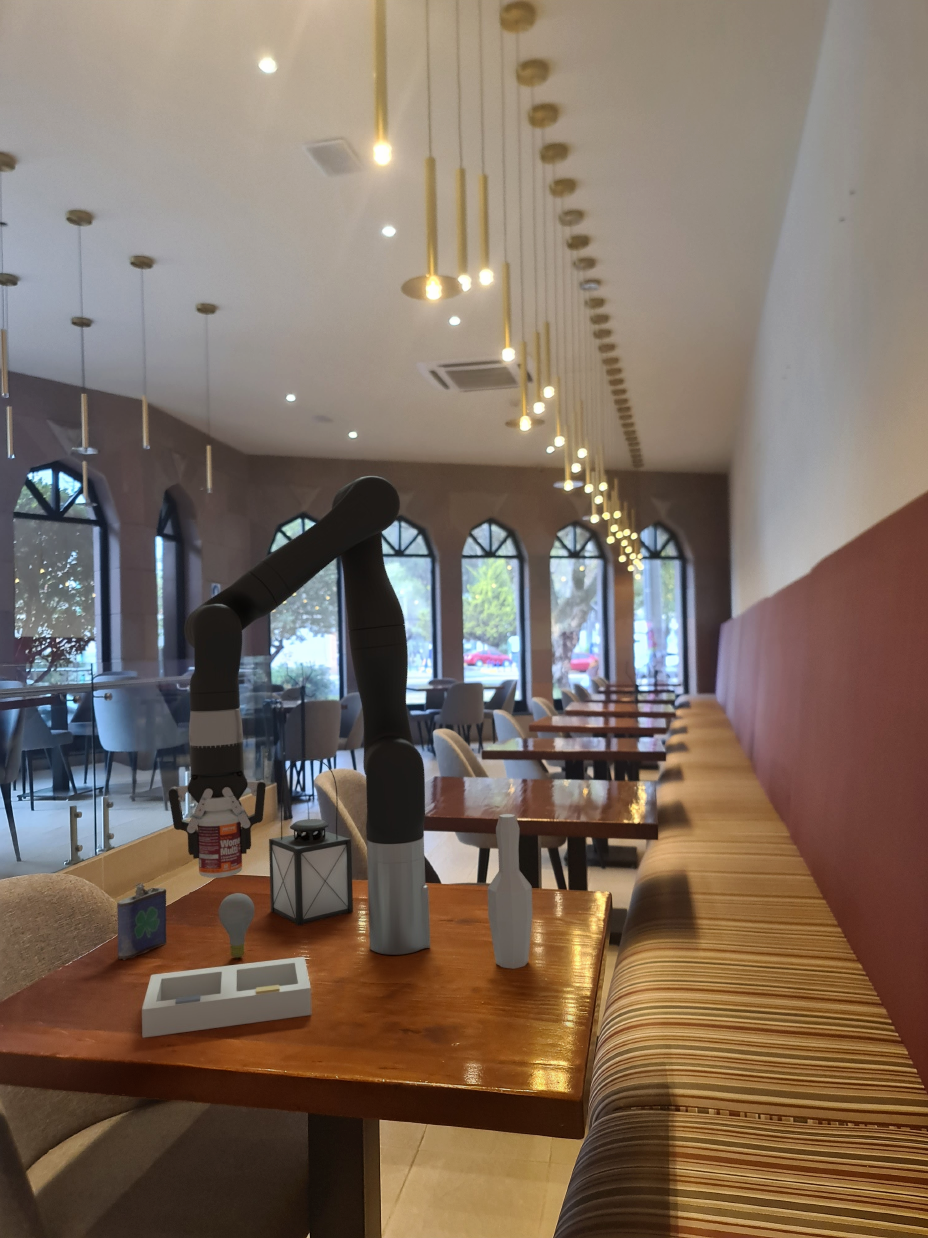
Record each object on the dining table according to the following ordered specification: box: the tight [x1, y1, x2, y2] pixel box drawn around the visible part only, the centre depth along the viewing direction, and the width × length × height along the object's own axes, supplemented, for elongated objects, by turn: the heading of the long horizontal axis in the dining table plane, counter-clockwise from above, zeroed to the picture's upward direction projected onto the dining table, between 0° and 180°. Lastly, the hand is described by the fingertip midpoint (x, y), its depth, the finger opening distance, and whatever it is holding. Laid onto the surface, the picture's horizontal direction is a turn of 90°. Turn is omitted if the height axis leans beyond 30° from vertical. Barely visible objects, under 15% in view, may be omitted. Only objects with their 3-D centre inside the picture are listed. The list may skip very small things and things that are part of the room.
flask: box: [116, 882, 167, 961], centre depth 142 cm, size 9×3×11 cm, turn 151°
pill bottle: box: [197, 797, 243, 879], centre depth 128 cm, size 6×6×11 cm
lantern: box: [268, 757, 354, 926], centre depth 160 cm, size 11×11×28 cm
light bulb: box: [218, 892, 255, 959], centre depth 137 cm, size 6×6×10 cm
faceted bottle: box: [487, 813, 533, 970], centre depth 131 cm, size 6×6×22 cm
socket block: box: [141, 956, 312, 1039], centre depth 118 cm, size 21×12×4 cm, turn 104°
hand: (220, 854), depth 128 cm, fingers closed on pill bottle, 6 cm apart
